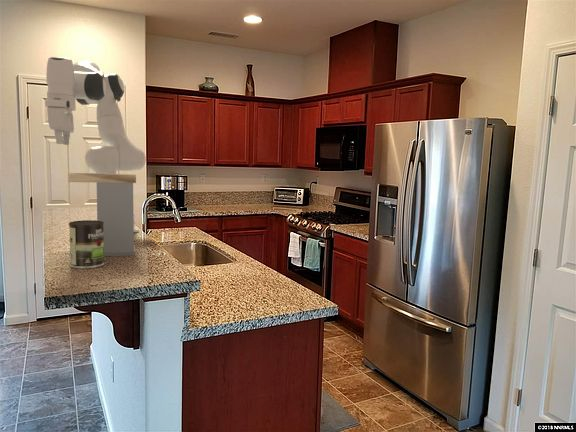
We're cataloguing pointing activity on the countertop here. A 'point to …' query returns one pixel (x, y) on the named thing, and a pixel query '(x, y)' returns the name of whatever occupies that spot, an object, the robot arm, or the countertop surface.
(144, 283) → the countertop surface
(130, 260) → the countertop surface
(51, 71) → the robot arm
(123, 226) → the upright
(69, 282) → the countertop surface
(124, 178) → the rail
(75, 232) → the coffee can
